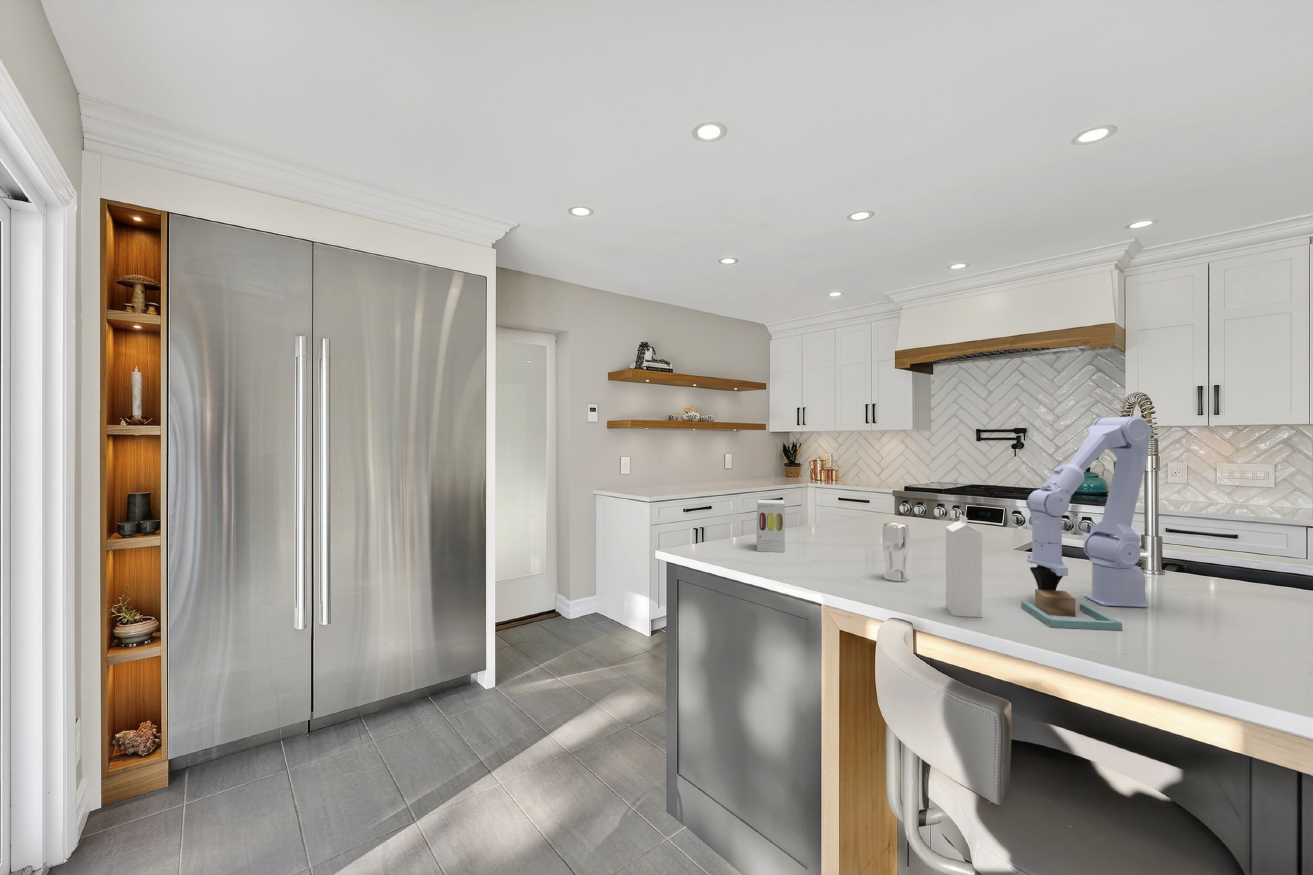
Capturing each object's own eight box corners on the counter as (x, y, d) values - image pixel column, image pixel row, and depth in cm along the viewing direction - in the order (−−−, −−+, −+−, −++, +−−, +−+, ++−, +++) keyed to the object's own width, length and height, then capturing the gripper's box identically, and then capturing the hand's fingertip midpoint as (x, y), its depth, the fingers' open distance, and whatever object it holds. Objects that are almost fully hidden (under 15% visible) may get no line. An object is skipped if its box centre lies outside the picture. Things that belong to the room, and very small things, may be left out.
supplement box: (756, 551, 195) (756, 502, 195) (756, 546, 204) (756, 499, 204) (785, 552, 193) (785, 502, 193) (784, 546, 202) (783, 499, 202)
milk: (952, 616, 127) (951, 517, 127) (945, 607, 133) (944, 513, 133) (982, 617, 126) (982, 518, 126) (974, 609, 132) (973, 513, 131)
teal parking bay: (1085, 610, 130) (1085, 603, 130) (1122, 630, 117) (1122, 623, 117) (1021, 607, 133) (1021, 601, 133) (1050, 627, 120) (1050, 620, 120)
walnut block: (1064, 608, 132) (1065, 590, 132) (1075, 616, 126) (1075, 598, 126) (1035, 606, 134) (1035, 589, 134) (1043, 614, 128) (1044, 596, 128)
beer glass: (912, 582, 154) (912, 527, 154) (884, 581, 156) (884, 526, 156) (906, 576, 161) (906, 523, 161) (880, 575, 163) (880, 522, 162)
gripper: (1014, 535, 142) (1014, 589, 142) (1043, 547, 128) (1043, 607, 128) (1045, 535, 141) (1045, 590, 141) (1078, 548, 126) (1078, 609, 127)
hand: (1046, 599), depth 134 cm, fingers closed
